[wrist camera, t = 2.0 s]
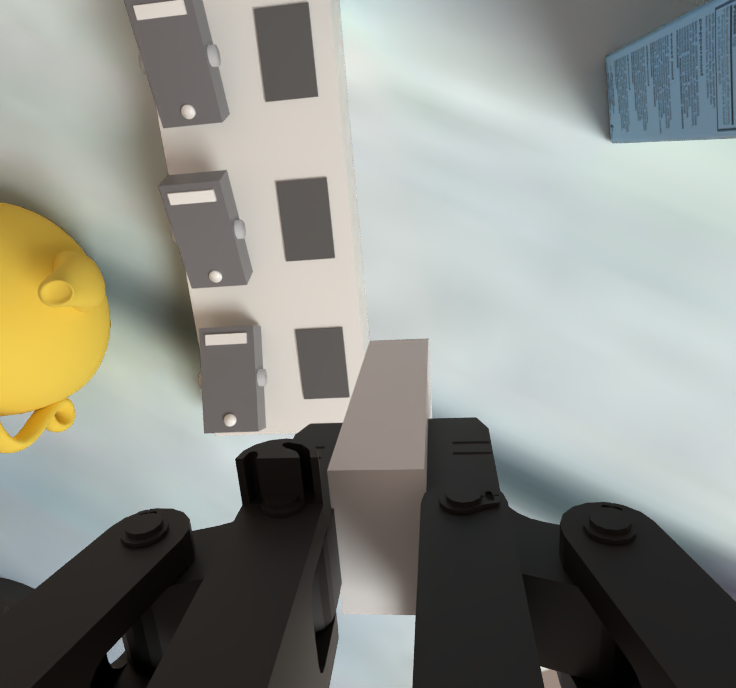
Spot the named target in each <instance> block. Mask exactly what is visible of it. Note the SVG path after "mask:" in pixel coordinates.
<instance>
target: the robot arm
mask: <svg viewBox="0 0 736 688" xmlns="http://www.w3.org/2000/svg"><path fill="white" fill-rule="evenodd" d="M235 460H236V467H237V473H238V479H239V485H240V492H241V498H242V504H243V505H242V507H241V509H240V511H239V512H238V514H237V516H236V518H235V520H234V521H233V522H231V523H227V524H223V525H220V526H215V527H210V528H205V529H200V530H195V531H192V529H191V524H190V519H189V518H188V517H187V516H186V515H185V513H184V512H181V511H178V510H175V509H159V508H156V509H150V510H144V511H140V512H138V513H137V514H134V515H131V516H129V517H126V518H124V519H123V520H121V521H120V522H118V523H116V524H115V525H113V526H112V527H110V528H109V529H108V530H107V531H105V532H104V533H103V534H102V535H101V536H99V537H98V538H97V539H96V540H94V541H93V542H92V543H91V544H90V545H88V546H87V547H86V548H85V549H83V550H82V551H81V552H80V553H79V554H77V555H76V556H75V557H74V558H72V559H71V560H70V561H69V562H68V563H66V564H65V565H64V566H63V567H61V568H60V569H59V570H58V571H56V572H55V573H54V574H53V575H52V576H50V577H49V578H48V579H47V580H45V581H44V582H43V583H42V584H41V585H39V586H38V587H37V588H36V589H33V588H31V587H29V586H27V585H24V584H22V583H19V582H16V581H12V580H9V579H4V578H0V688H329V685H330V680H331V675H332V669H333V664H334V659H335V654H336V648H337V643H338V624H337V615H336V608H337V604H338V599H339V594H340V593H341V603H342V612H343V614H380V615H416V621H415V644H414V666H413V688H544V683H543V678H542V674H541V668H540V666H542V667H545V668H548V669H552V670H555V671H557V674H558V678H559V682H560V685H561V687H562V688H736V602H735V601H734V600H733V599H732V598H731V597H730V596H729V595H728V594H727V593H726V592H725V591H724V590H723V589H722V588H721V587H720V586H719V585H718V584H717V583H716V582H715V581H714V580H713V579H712V578H711V577H710V576H709V575H708V574H707V573H706V572H705V571H704V570H703V569H702V568H701V567H700V566H699V565H698V564H697V563H696V562H695V561H694V560H693V559H692V558H691V557H690V556H689V555H688V554H687V553H686V552H685V551H684V550H683V549H682V548H681V547H680V546H679V545H678V544H677V543H676V542H675V541H674V540H673V539H672V538H670V537H669V536H668V535H667V534H666V533H665V532H664V531H663V530H662V529H661V528H660V527H659V526H658V525H657V524H656V523H655V522H654V521H653V520H651V519H650V518H649V517H647V516H646V515H644V514H643V513H641V512H639V511H637V510H634V509H632V508H629V507H626V506H624V505H620V504H615V503H614V504H612V503H608V502H596V503H585V504H581V505H578V506H574V507H572V508H571V509H569V510H568V511H567V512H565V513H564V514H563V516H562V519H561V522H560V525H557V524H552V523H546V522H542V521H538V520H534V519H530V518H528V517H526V516H523V515H521V514H519V513H517V512H516V511H514V510H513V509H511V508H510V507H509V506H508V502H507V500H506V498H505V496H504V495H503V493H502V492H501V491H500V488H499V482H498V477H497V472H496V466H495V461H494V456H493V450H492V445H491V440H490V434H489V429H488V428H487V427H486V426H485V425H484V424H483V423H482V422H481V421H480V420H478V419H477V418H437V419H432V404H431V383H430V362H429V342H428V339H404V340H380V341H370V342H369V345H368V348H367V351H366V354H365V357H364V360H363V363H362V366H361V369H360V372H359V375H358V378H357V381H356V384H355V387H354V390H353V393H352V396H351V399H350V402H349V406H348V409H347V412H346V415H345V418H344V421H343V423H310V424H309V425H307V426H306V427H305V428H303V429H302V430H301V431H299V432H298V433H297V434H295V436H294V438H293V439H279V440H270V441H267V442H263V443H260V444H256V445H254V446H252V447H250V448H248V449H246V450H244V451H243V452H242V453H241V454H240V455H239V456H238V457H237V458H236V459H235ZM121 637H122V639H123V643H124V647H125V652H124V653H123V654H122V655H121V656H120V657H119V658H118V659H117V660H116V661H114V662H113V663H112V664H110V663H109V662H108V658H107V654H106V653H107V652H108V651H109V650H110V649H111V648H112V647H113V646H114V645H115V644H116V642H117V641H118V640H119V639H120V638H121Z"/></svg>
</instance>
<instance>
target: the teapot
mask: <svg viewBox="0 0 736 688" xmlns="http://www.w3.org/2000/svg"><path fill="white" fill-rule="evenodd" d="M110 327H111V321H110V312H109V306H108V300H107V297H106V293H105V282H104V279H103V276H102V273H101V272H100V270H99V268H98V266H97V265H96V263H95V262H94V261H93V260H92V259H91V258H90V257H88V256H87V255H86V254H85V253H84V251H83V250H82V249H81V247H80V246H79V245H78V244H77V243H76V242H75V241H74V240H73V239H72V238H71V237H70V236H69V235H68V234H67V233H66V232H65V231H64V230H63V229H62V228H60V227H58V226H57V225H55V224H54V223H53V222H51V221H50V220H48V219H46V218H44V217H42V216H41V215H39V214H37V213H34V212H32V211H29V210H27V209H24V208H22V207H19V206H15V205H11V204H7V203H1V202H0V416H6V415H15V414H22V413H26V412H30V411H33V410H35V411H34V413H33V414H32V415H31V417H30V418H29V419H28V421H27V422H26V424H25V425H24V426H23V428H22V429H21V430H20V431H19V433H18V434H17V435H16V436H15V437H11V436H10V435H9V434H8V433H7V432H6V431H5V429H4V428H3V426H2V424H1V422H0V453H13V452H18V451H21V450H23V449H25V448H27V447H28V446H30V445H31V444H32V443H33V442H35V441H36V440H37V438H38V437H39V436H40V435H41V434H42V432H43V431H44V430H45V429H47V430H48V431H51V432H62V431H64V430H66V429H68V428H69V427H70V426H71V425H72V424H73V422H74V419H75V410H74V406H73V403H72V402H71V401H70V400H69V399H68V398H66V397H68V396H70V395H71V394H73V393H75V392H76V391H78V390H79V389H80V388H82V387H83V386H84V385H85V384H86V383H87V382H88V381H89V380H90V379H91V378H92V376H93V375H94V374H95V373H96V371H97V369H98V367H99V366H100V364H101V362H102V359H103V357H104V354H105V352H106V349H107V345H108V341H109V335H110Z"/></svg>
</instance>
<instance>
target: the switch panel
mask: <svg viewBox="0 0 736 688" xmlns="http://www.w3.org/2000/svg"><path fill="white" fill-rule="evenodd" d="M203 4H204V8H205V12H206V16H207V21H208V25H209V29H210V33H211V37H212V41H213V44H216V45H217V47H218V49H219V53H220V58H221V64H220V66H218V67H219V71H220V75H221V79H222V83H223V87H224V92H225V96H226V100H227V104H228V108H229V112H230V114H229V116H228V117H227V118H226V119H225V120H224V121H223V122H222V123H212V124H202V125H192V126H182V127H172V128H163V126H162V123H161V120H160V117H159V113H158V110H157V115H158V120H159V126H160V131H161V137H162V143H163V148H164V154H165V159H166V165H167V170H168V175H176V174H187V173H198V172H209V171H221V170H227V172H228V176H229V180H230V184H231V188H232V191H233V195H234V199H235V203H236V207H237V211H238V215H239V219H240V220H243V221H244V224H245V228H246V236H245V242H246V246H247V250H248V254H249V258H250V262H251V266H252V270H253V273H252V275H251V277H250V279H249V282H248V284H247V285H239V286H224V287H209V288H194V289H192V288H191V285H190V282H189V279H188V276H187V273H186V276H187V281H188V287H189V292H190V298H191V303H192V309H193V315H194V320H195V326H196V331H197V337H198V342H199V348H200V341H199V328H215V327H233V326H250V325H255V326H261V337H262V357H263V369H266V372H267V384H266V386H264V396H265V415H266V428H265V429H262V430H260V431H256V432H228V433H215V436H218V435H247V434H275V433H298V432H299V431H301V430H302V429H303V428H305V427H306V426H307V425H309V424H310V423H343V421H344V418H345V415H346V412H347V409H348V406H349V402H350V399H351V396H352V393H353V390H354V387H355V384H356V381H357V378H358V375H359V372H360V369H361V366H362V363H363V360H364V357H365V354H366V351H367V348H368V345H369V342H370V335H369V324H368V313H367V302H366V291H365V280H364V269H363V258H362V247H361V236H360V225H359V214H358V203H357V192H356V181H355V170H354V159H353V148H352V137H351V126H350V115H349V104H348V93H347V82H346V71H345V60H344V49H343V38H342V27H341V16H340V5H339V0H203ZM155 104H156V103H155ZM156 109H157V107H156Z"/></svg>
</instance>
